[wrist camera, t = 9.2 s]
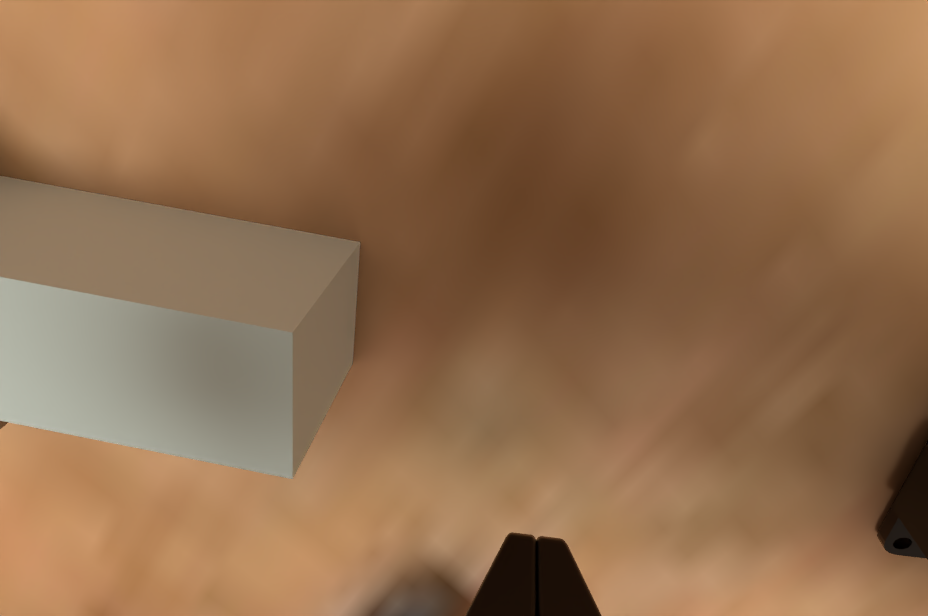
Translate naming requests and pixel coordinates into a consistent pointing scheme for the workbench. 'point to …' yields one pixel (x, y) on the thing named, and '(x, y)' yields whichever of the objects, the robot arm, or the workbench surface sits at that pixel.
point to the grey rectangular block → (170, 326)
